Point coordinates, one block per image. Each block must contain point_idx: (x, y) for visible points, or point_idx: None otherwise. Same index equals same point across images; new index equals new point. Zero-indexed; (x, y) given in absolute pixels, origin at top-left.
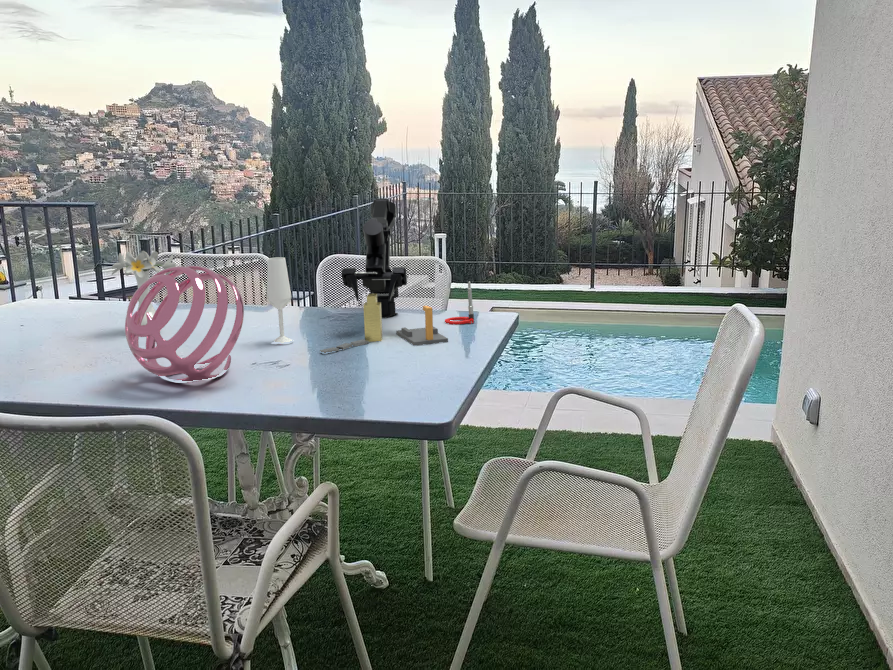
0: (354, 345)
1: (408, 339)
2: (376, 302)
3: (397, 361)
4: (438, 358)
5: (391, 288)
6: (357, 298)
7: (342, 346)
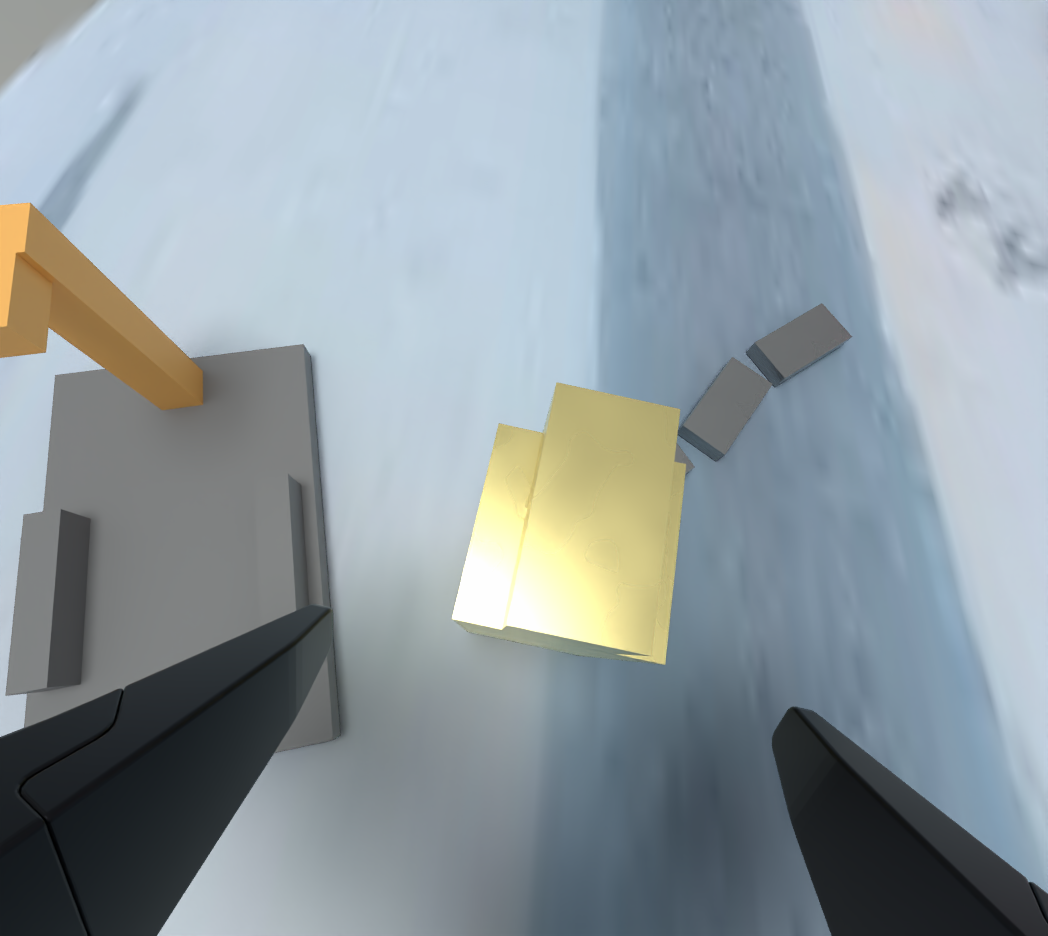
0: None
1: (313, 451)
2: (524, 520)
3: (466, 126)
4: (270, 116)
5: (182, 675)
6: (801, 709)
7: (736, 378)
